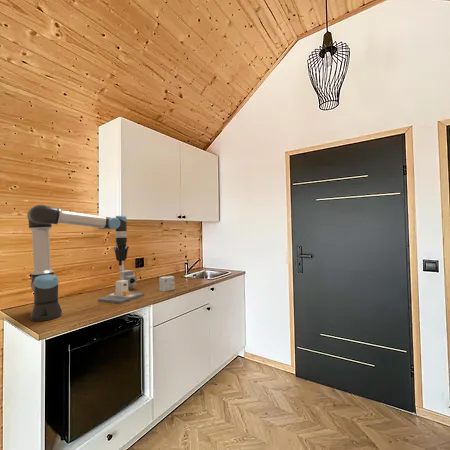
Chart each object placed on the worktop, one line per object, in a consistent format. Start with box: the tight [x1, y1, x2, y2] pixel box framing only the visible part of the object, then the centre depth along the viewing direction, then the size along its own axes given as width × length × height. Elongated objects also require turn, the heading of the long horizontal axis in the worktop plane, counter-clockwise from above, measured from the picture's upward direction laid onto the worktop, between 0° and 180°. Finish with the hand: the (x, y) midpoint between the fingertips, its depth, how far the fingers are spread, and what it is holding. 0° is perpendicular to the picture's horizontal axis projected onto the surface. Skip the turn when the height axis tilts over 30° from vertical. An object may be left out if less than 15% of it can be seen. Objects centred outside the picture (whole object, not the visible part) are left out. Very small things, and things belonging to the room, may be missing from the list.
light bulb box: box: [158, 275, 175, 293], centre depth 221 cm, size 11×7×11 cm, turn 141°
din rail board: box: [97, 289, 145, 305], centre depth 197 cm, size 24×20×5 cm
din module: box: [115, 279, 129, 296], centre depth 197 cm, size 7×6×10 cm
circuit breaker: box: [118, 269, 137, 291], centre depth 225 cm, size 8×14×15 cm, turn 53°
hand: (121, 269), depth 197 cm, fingers closed
